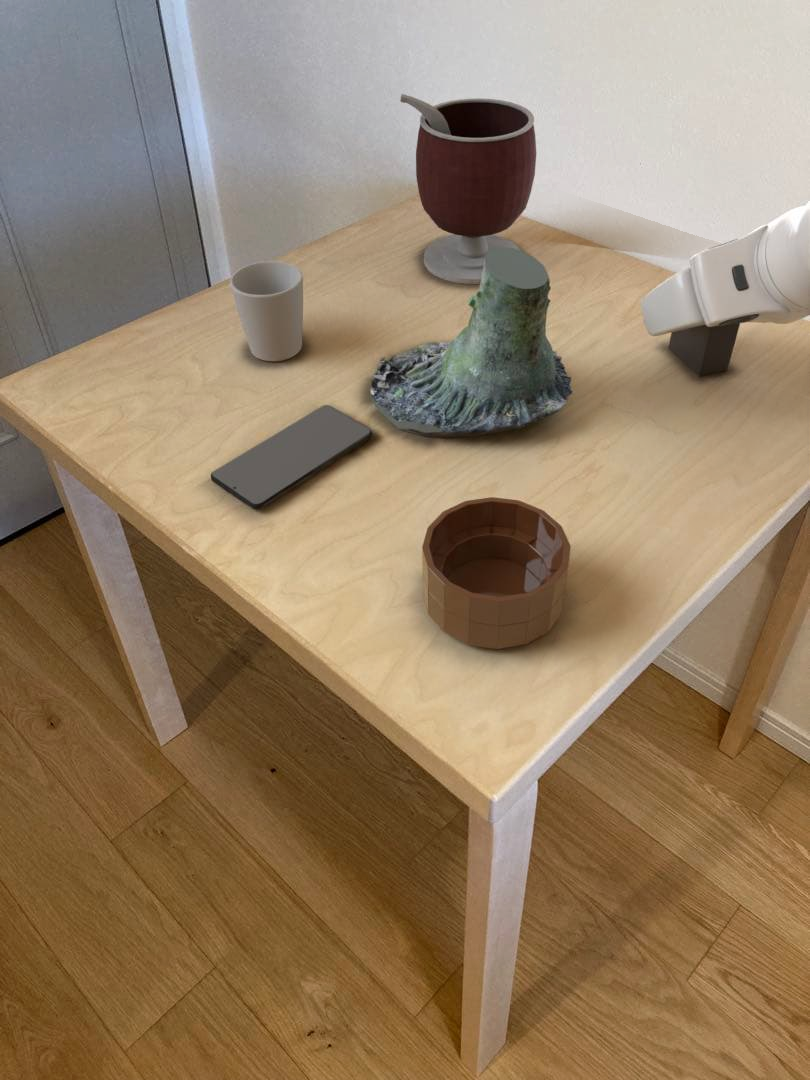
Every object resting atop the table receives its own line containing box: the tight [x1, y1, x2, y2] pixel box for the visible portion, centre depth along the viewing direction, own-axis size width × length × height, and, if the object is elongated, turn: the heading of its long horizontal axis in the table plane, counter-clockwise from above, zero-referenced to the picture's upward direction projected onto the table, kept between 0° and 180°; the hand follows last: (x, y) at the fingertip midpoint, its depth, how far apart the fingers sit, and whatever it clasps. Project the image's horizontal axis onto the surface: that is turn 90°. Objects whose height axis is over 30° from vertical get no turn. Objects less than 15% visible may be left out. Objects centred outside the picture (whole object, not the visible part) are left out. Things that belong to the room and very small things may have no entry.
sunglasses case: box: [668, 323, 741, 377], centre depth 92 cm, size 4×6×9 cm, turn 20°
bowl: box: [421, 496, 572, 650], centre depth 70 cm, size 11×11×6 cm
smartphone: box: [210, 404, 373, 511], centre depth 85 cm, size 7×1×15 cm
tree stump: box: [369, 247, 573, 438], centre depth 87 cm, size 18×20×18 cm
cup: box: [229, 260, 304, 362], centre depth 97 cm, size 8×10×8 cm
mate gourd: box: [399, 93, 537, 285], centre depth 105 cm, size 16×14×20 cm
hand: (703, 315), depth 93 cm, fingers closed on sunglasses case, 3 cm apart
